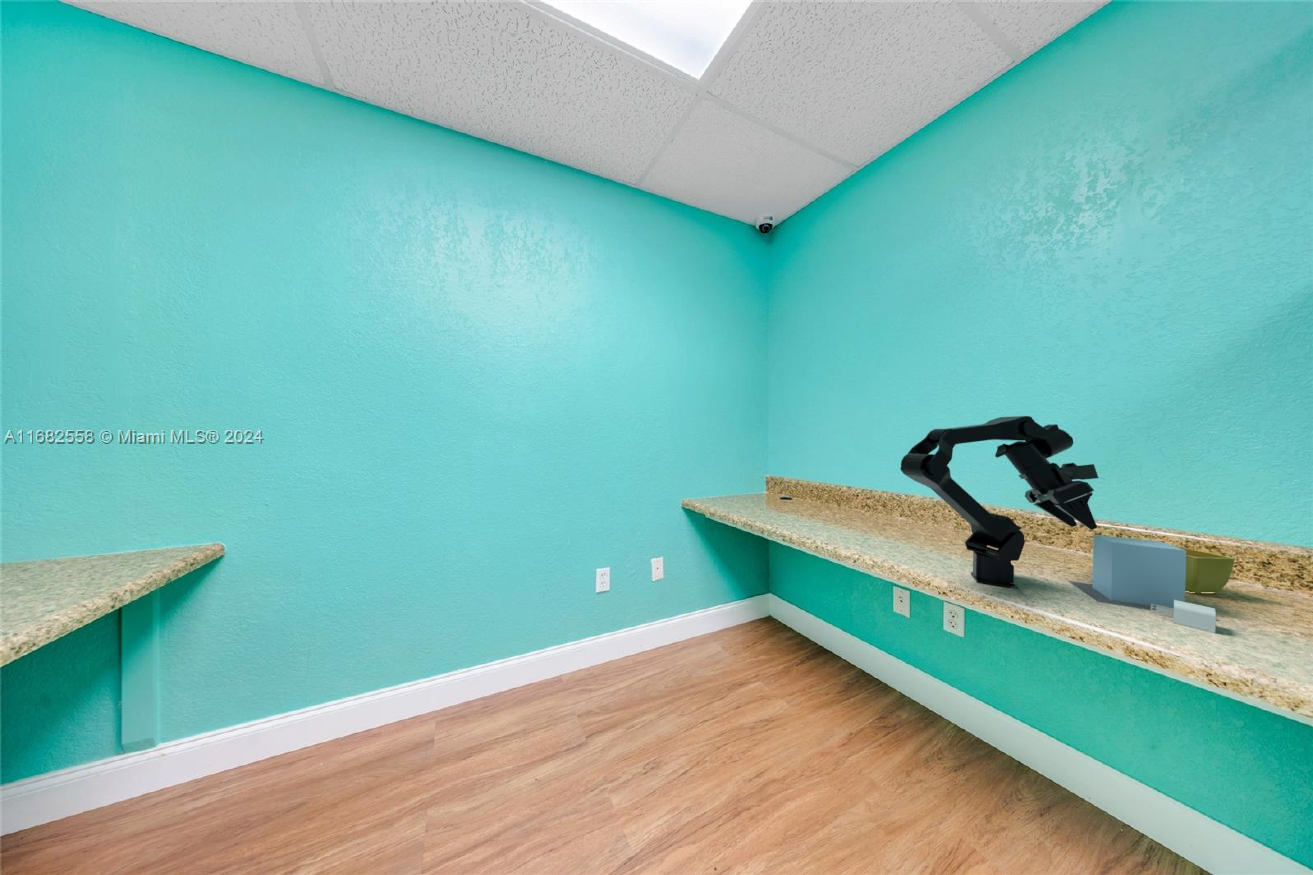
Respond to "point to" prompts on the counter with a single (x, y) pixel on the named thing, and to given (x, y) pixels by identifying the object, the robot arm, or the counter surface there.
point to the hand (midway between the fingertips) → (1083, 527)
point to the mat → (1103, 599)
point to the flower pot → (1206, 571)
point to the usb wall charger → (1190, 615)
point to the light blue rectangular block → (1139, 571)
